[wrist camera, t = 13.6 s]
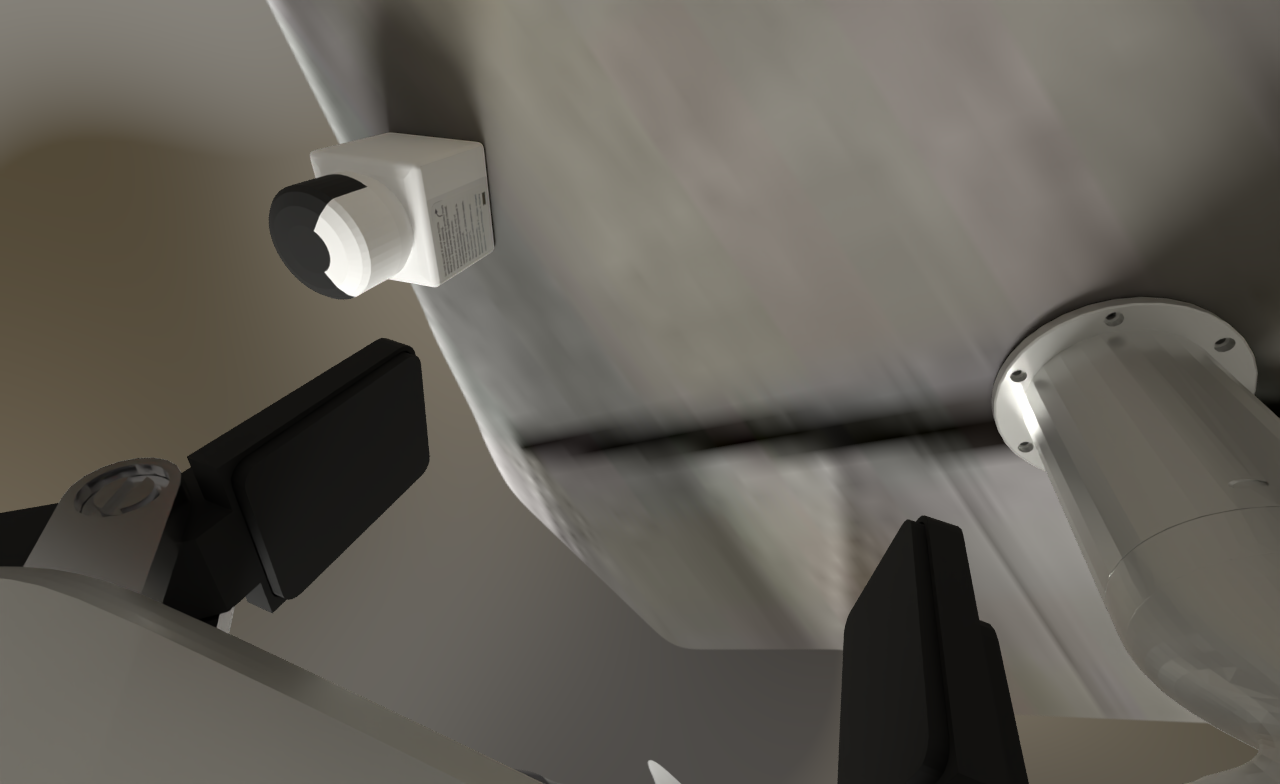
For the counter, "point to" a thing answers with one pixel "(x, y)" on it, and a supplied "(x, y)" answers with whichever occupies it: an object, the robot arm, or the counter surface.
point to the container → (385, 214)
